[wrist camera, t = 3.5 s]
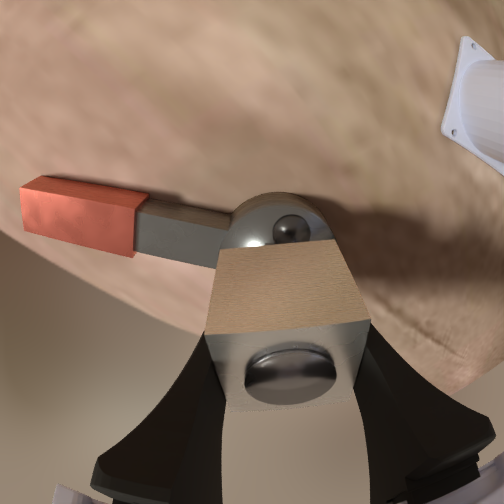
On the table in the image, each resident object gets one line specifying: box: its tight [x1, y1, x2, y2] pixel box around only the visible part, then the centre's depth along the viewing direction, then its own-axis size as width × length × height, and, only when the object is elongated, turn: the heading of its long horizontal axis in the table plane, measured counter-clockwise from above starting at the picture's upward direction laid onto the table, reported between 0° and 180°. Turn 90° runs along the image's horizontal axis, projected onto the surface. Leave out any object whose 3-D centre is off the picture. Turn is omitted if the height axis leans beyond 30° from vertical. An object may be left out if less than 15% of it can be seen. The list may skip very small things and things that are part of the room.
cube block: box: [204, 239, 371, 412], centre depth 11 cm, size 5×5×5 cm
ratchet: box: [20, 176, 338, 269], centre depth 16 cm, size 21×7×5 cm, turn 76°
